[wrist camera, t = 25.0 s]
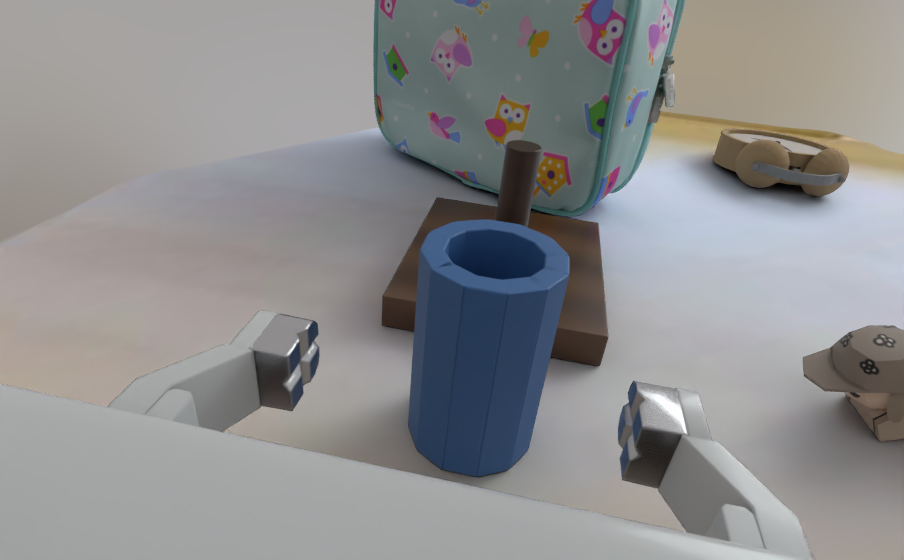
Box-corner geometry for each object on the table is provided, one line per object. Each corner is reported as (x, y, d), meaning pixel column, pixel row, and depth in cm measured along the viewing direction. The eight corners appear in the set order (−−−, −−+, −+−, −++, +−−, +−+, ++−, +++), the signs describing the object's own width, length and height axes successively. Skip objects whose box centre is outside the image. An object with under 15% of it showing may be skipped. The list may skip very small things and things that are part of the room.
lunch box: (653, 211, 48) (744, -83, 37) (595, 246, 41) (685, -101, 30) (431, 130, 62) (448, -100, 51) (360, 146, 55) (361, -115, 44)
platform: (599, 366, 29) (646, 212, 25) (381, 325, 31) (385, 171, 26) (592, 247, 41) (622, 126, 36) (434, 221, 42) (444, 102, 38)
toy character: (789, 413, 31) (784, 329, 28) (957, 386, 29) (970, 293, 26) (824, 473, 27) (824, 384, 24) (1018, 447, 25) (1041, 347, 22)
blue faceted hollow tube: (524, 488, 22) (569, 305, 18) (395, 460, 23) (405, 276, 18) (533, 397, 27) (570, 232, 22) (425, 375, 27) (438, 210, 23)
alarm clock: (810, 136, 63) (887, 155, 49) (795, 179, 65) (865, 209, 51) (709, 123, 64) (755, 137, 50) (697, 166, 66) (739, 191, 52)
